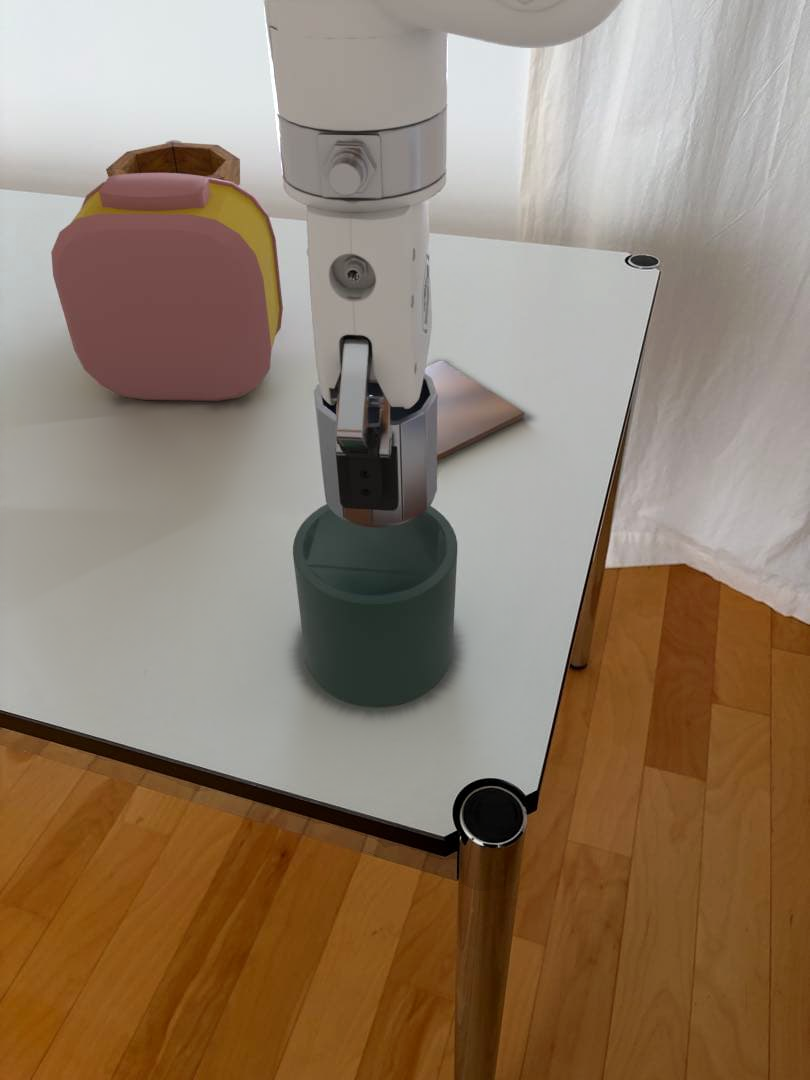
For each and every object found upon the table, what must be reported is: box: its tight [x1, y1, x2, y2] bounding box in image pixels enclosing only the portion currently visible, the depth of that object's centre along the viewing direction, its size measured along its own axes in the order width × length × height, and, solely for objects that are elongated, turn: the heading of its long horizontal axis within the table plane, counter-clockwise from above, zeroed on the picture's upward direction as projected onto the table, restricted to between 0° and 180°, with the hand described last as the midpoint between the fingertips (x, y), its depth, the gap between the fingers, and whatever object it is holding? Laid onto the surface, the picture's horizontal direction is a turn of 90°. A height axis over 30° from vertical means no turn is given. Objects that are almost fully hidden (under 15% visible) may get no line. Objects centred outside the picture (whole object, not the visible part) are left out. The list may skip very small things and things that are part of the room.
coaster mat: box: [424, 360, 525, 462], centre depth 85 cm, size 12×12×1 cm
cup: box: [313, 373, 438, 528], centre depth 51 cm, size 7×7×7 cm
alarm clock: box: [50, 173, 284, 402], centre depth 83 cm, size 18×11×19 cm, turn 88°
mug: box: [105, 139, 241, 187], centre depth 99 cm, size 20×14×15 cm
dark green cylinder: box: [292, 503, 458, 708], centre depth 60 cm, size 10×10×10 cm
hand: (378, 462), depth 52 cm, fingers closed on cup, 6 cm apart
